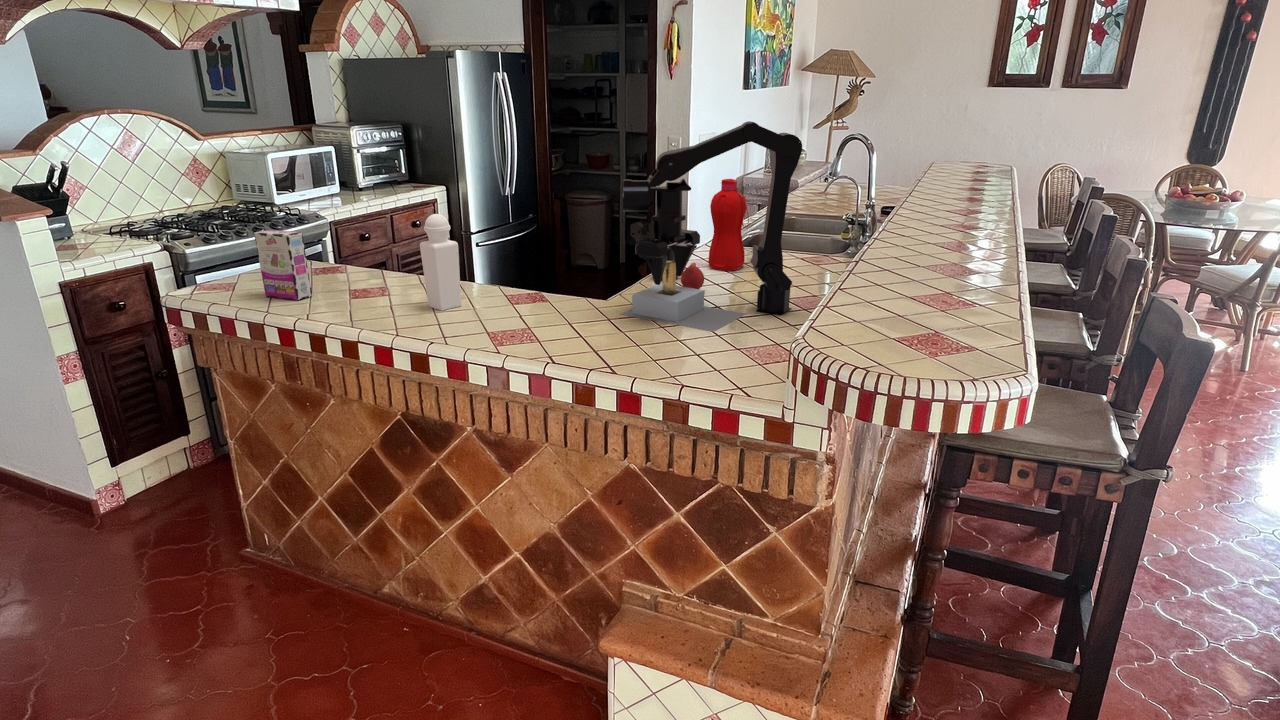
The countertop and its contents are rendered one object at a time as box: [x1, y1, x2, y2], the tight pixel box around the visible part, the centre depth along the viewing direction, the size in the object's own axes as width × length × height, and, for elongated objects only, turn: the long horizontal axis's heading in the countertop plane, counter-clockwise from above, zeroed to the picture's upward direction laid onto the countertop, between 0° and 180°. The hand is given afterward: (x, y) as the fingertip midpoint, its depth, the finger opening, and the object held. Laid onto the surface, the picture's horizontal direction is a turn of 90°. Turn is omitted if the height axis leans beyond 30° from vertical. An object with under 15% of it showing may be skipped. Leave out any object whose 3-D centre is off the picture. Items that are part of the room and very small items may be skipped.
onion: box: [680, 261, 705, 290], centre depth 186 cm, size 6×6×8 cm
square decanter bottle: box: [419, 213, 462, 312], centre depth 174 cm, size 6×6×22 cm
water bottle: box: [707, 178, 750, 272], centre depth 209 cm, size 9×11×25 cm
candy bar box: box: [253, 229, 313, 301], centre depth 184 cm, size 11×5×16 cm, turn 68°
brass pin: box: [662, 261, 677, 296], centre depth 169 cm, size 3×3×10 cm
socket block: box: [631, 282, 705, 322], centre depth 170 cm, size 12×12×4 cm
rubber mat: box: [620, 305, 747, 333], centre depth 169 cm, size 24×16×1 cm, turn 56°
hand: (668, 280), depth 169 cm, fingers open, 9 cm apart
